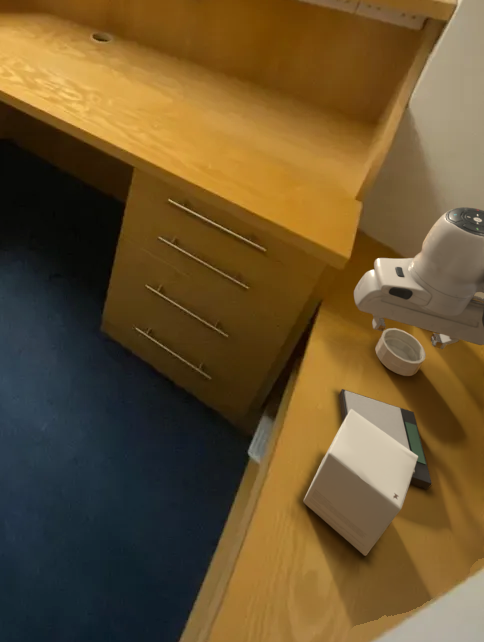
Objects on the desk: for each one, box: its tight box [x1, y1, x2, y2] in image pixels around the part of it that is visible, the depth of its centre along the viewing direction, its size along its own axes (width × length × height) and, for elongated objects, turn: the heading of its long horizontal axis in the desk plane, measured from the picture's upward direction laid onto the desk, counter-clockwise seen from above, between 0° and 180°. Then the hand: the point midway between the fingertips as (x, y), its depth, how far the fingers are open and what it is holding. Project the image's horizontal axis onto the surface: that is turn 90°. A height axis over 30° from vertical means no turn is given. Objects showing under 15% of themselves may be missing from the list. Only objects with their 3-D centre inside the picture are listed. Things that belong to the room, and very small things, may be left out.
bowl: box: [374, 327, 427, 377], centre depth 95 cm, size 7×7×4 cm
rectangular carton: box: [303, 409, 418, 557], centre depth 74 cm, size 9×9×15 cm
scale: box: [338, 388, 433, 490], centre depth 84 cm, size 11×11×3 cm
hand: (406, 335), depth 93 cm, fingers open, 8 cm apart
